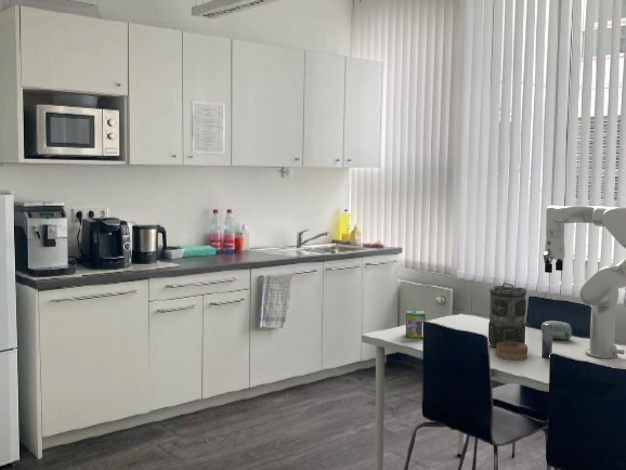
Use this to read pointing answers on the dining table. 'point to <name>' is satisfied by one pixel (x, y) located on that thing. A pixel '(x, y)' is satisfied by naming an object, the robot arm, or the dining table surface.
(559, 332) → the grey-green rounded cylinder
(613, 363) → the dining table surface
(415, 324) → the chalk box
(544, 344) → the pin
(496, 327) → the canister
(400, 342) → the dining table surface
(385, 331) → the dining table surface
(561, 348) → the dining table surface
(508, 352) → the brown round short cylinder
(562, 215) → the robot arm
